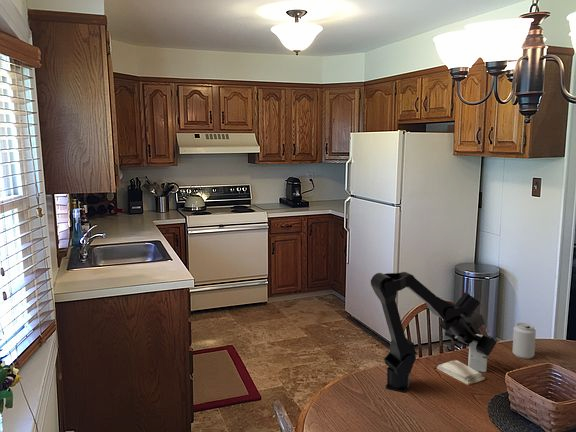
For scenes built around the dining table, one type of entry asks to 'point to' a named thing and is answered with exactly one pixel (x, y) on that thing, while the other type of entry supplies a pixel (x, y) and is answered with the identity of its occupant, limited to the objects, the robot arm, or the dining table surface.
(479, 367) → the skincare box
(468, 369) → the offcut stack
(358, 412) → the dining table surface
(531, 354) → the can
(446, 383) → the dining table surface
